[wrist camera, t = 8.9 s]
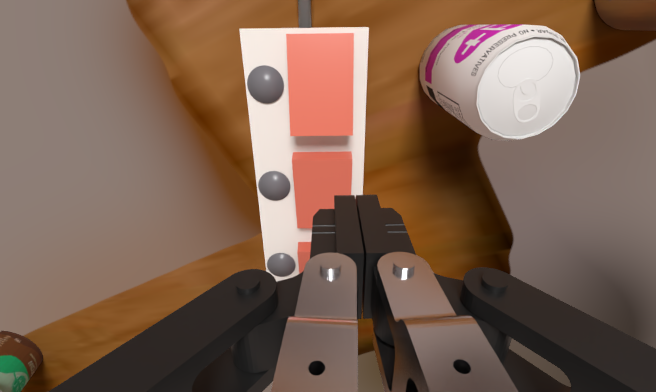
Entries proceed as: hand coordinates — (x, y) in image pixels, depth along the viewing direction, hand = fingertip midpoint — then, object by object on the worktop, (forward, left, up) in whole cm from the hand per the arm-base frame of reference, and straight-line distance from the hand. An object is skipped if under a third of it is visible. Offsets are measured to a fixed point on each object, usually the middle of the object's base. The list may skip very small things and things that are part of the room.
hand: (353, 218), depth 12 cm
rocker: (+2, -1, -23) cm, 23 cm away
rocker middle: (+2, +10, -23) cm, 25 cm away
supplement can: (-13, -2, -29) cm, 32 cm away
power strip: (+3, +6, -29) cm, 30 cm away
